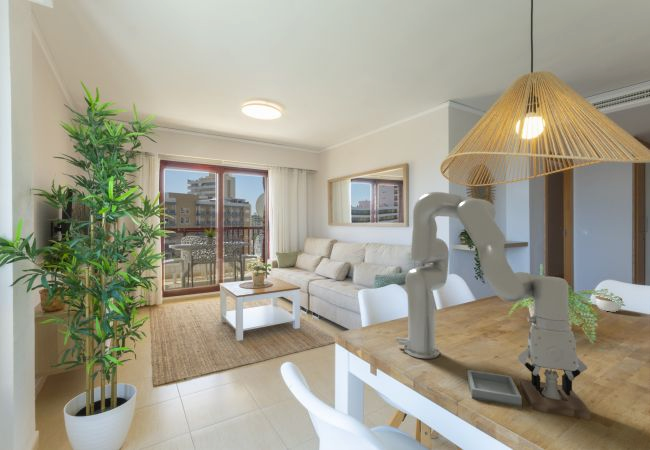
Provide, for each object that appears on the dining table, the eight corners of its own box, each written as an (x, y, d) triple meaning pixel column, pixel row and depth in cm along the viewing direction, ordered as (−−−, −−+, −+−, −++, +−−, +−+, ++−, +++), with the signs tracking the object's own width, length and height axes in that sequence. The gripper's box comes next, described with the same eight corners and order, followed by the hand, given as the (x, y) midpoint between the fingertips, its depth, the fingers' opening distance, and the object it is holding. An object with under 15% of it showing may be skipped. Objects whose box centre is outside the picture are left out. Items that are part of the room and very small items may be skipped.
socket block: (531, 409, 76) (531, 401, 76) (519, 385, 87) (519, 378, 87) (590, 419, 72) (590, 411, 72) (569, 393, 83) (569, 386, 83)
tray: (472, 398, 81) (472, 389, 81) (467, 377, 92) (467, 369, 92) (521, 407, 77) (521, 397, 77) (510, 384, 88) (510, 376, 88)
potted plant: (591, 307, 169) (590, 291, 169) (614, 309, 166) (613, 292, 166) (603, 313, 158) (602, 295, 158) (627, 314, 156) (627, 296, 156)
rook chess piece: (552, 396, 82) (552, 367, 82) (566, 405, 78) (566, 375, 78) (537, 396, 82) (536, 367, 82) (549, 406, 77) (549, 375, 77)
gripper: (517, 324, 79) (517, 391, 79) (598, 331, 73) (598, 404, 73) (510, 316, 86) (510, 378, 86) (583, 322, 80) (584, 389, 80)
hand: (551, 389), depth 80 cm, fingers open, 5 cm apart
